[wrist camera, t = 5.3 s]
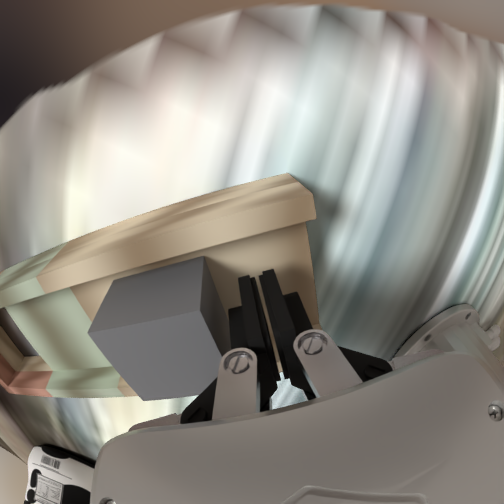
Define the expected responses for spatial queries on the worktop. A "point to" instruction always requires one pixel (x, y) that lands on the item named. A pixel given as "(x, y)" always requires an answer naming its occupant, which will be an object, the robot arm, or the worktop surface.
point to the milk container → (57, 477)
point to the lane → (143, 259)
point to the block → (164, 330)
